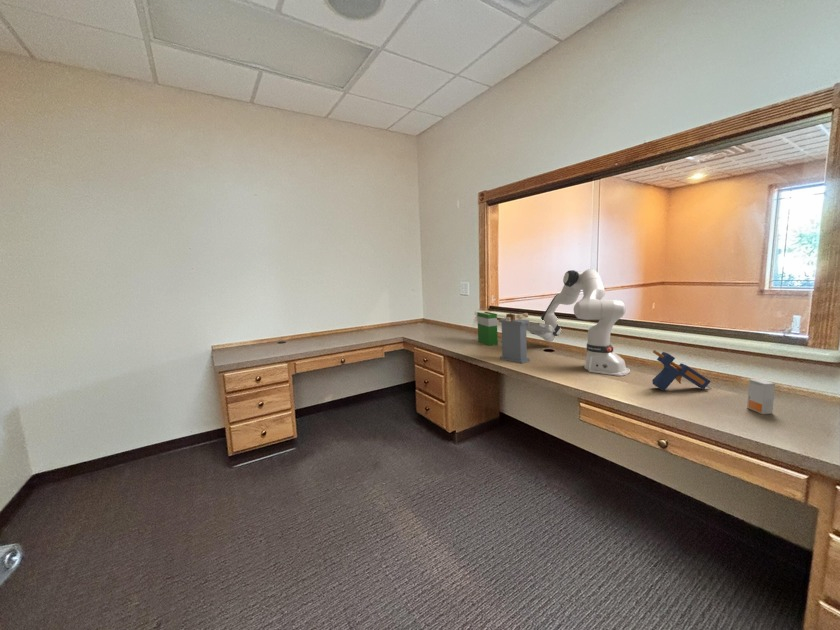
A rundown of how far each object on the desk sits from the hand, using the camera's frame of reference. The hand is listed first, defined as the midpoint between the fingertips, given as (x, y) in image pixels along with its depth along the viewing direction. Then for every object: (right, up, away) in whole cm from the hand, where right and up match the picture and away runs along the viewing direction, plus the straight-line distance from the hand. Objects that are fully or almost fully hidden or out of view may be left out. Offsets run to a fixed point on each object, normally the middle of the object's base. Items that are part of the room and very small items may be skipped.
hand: (532, 323), depth 231 cm
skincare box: (+55, -32, -98) cm, 117 cm away
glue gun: (+44, -29, -73) cm, 90 cm away
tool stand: (-15, -23, -10) cm, 30 cm away
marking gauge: (-13, +3, -11) cm, 18 cm away
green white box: (-22, -17, +40) cm, 49 cm away
